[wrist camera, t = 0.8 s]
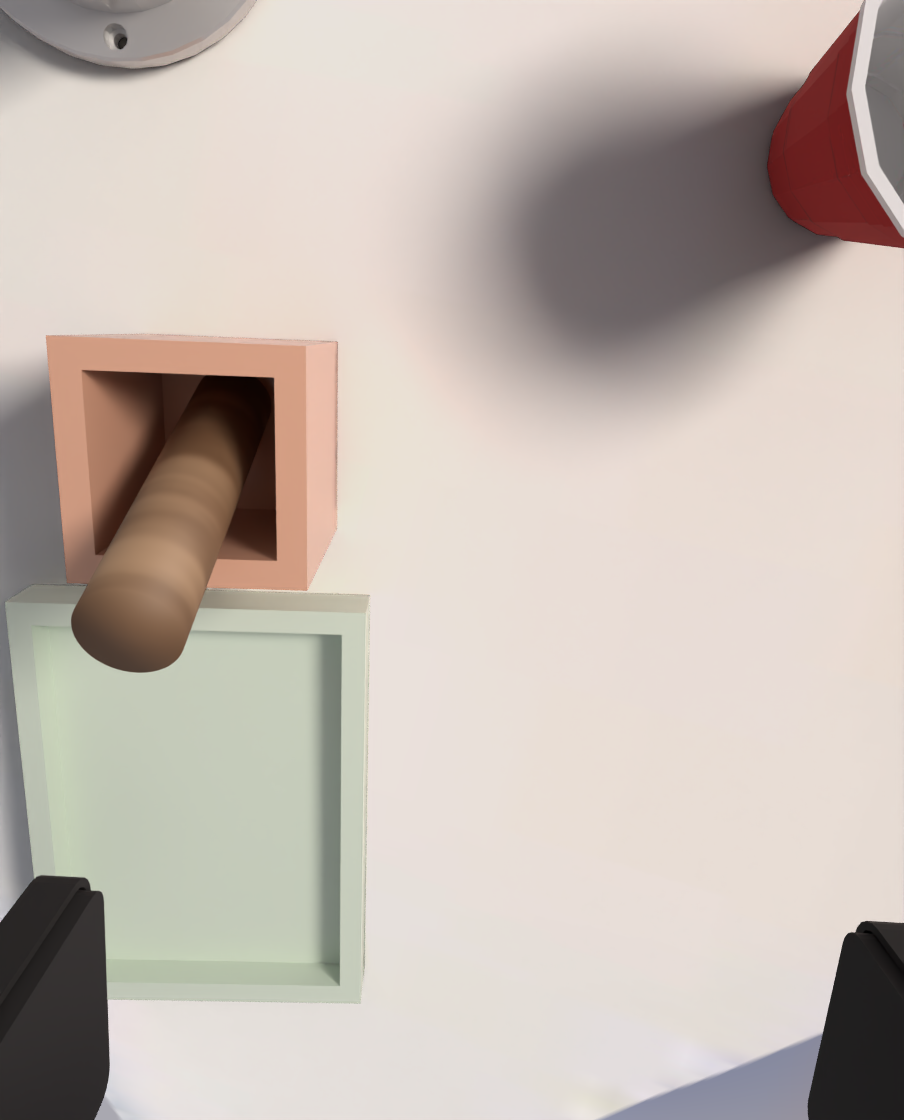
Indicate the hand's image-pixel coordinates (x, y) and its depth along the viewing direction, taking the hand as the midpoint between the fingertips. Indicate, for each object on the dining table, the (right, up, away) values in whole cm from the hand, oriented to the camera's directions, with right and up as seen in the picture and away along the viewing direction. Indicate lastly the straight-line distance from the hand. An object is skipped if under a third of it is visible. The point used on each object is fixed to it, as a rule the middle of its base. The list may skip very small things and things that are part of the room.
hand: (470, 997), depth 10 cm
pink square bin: (-9, +11, +25) cm, 29 cm away
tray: (-12, -6, +30) cm, 33 cm away
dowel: (-9, +10, +25) cm, 28 cm away
